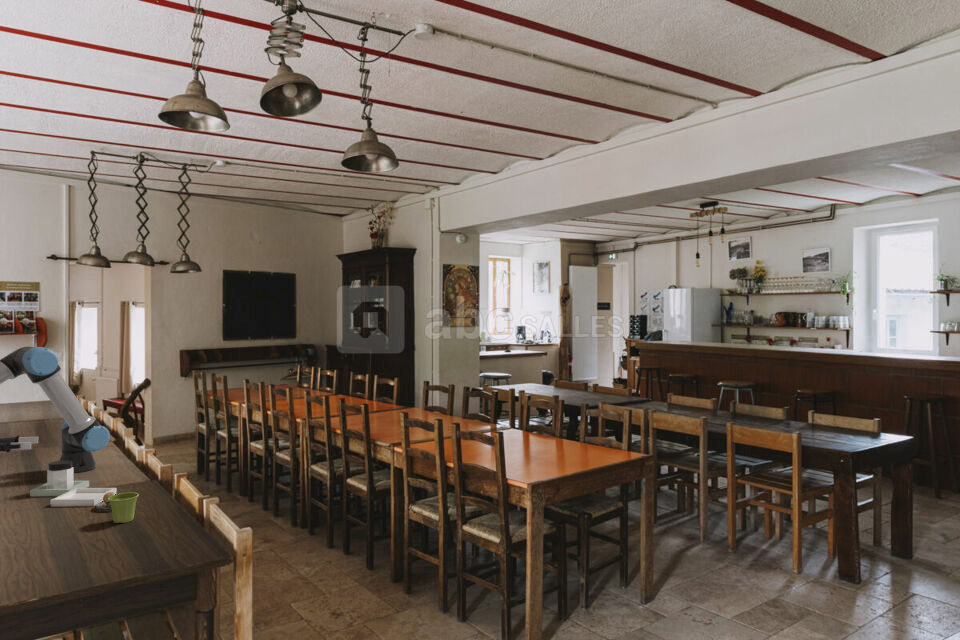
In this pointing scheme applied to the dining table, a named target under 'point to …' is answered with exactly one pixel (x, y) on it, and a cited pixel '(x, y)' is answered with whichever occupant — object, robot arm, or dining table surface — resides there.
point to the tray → (82, 497)
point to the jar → (60, 475)
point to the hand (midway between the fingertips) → (34, 442)
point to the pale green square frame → (57, 492)
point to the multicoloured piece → (104, 504)
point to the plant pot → (123, 506)
